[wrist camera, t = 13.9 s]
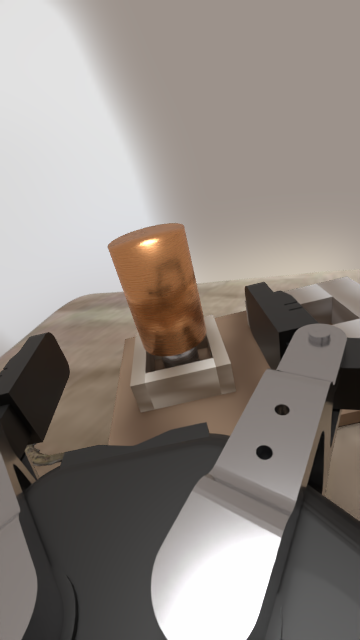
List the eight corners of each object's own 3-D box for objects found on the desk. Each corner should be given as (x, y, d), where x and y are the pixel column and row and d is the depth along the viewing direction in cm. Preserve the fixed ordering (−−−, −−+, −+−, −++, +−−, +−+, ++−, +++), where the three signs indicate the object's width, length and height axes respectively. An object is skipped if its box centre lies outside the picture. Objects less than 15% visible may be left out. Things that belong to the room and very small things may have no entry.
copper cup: (209, 347, 25) (180, 218, 20) (219, 385, 21) (187, 235, 16) (155, 360, 26) (112, 235, 20) (155, 399, 21) (101, 256, 16)
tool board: (340, 297, 29) (342, 264, 28) (473, 397, 17) (491, 349, 15) (128, 347, 30) (117, 318, 29) (110, 475, 18) (89, 438, 16)
